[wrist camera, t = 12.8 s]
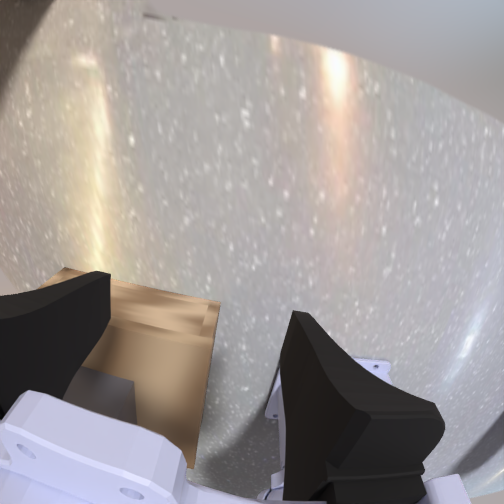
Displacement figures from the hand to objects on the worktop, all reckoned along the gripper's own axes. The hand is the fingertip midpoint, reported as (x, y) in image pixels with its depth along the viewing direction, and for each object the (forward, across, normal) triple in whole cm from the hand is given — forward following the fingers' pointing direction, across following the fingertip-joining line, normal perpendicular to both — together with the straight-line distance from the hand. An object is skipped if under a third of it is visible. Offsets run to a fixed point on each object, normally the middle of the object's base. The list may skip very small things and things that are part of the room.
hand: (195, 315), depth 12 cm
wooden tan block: (+5, +6, +11) cm, 14 cm away
